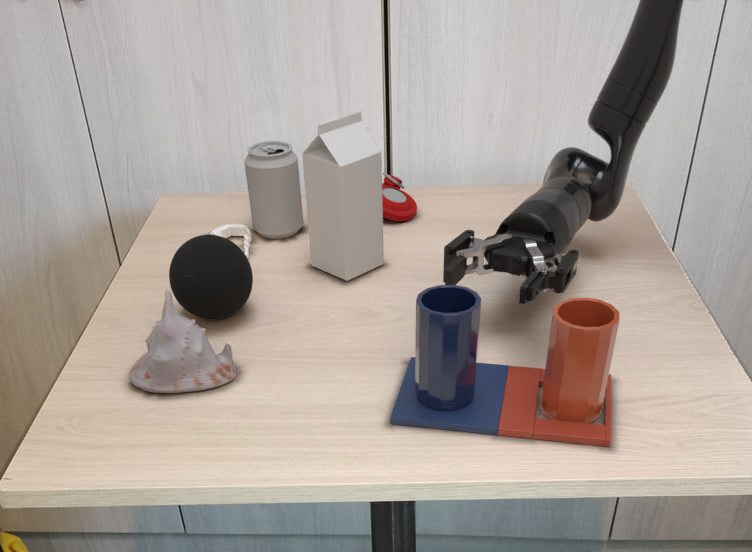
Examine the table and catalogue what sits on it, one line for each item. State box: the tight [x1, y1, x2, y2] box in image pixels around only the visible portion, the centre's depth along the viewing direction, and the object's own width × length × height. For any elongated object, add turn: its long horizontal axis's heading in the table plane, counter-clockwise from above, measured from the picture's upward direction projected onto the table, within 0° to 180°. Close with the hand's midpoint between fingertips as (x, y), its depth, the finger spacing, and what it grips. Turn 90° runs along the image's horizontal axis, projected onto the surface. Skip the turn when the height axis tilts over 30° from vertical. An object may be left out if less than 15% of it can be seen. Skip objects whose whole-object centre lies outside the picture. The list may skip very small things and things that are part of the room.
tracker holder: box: [382, 171, 418, 222], centre depth 124 cm, size 12×4×10 cm
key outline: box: [210, 223, 253, 260], centre depth 116 cm, size 13×5×2 cm, turn 23°
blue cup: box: [414, 284, 482, 411], centre depth 82 cm, size 6×6×11 cm
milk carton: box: [301, 110, 385, 282], centre depth 105 cm, size 7×7×19 cm
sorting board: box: [389, 356, 612, 447], centre depth 86 cm, size 22×12×1 cm, turn 77°
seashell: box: [128, 289, 238, 394], centre depth 89 cm, size 10×12×9 cm
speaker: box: [168, 234, 254, 321], centre depth 98 cm, size 10×10×10 cm
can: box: [244, 140, 304, 240], centre depth 117 cm, size 8×8×12 cm
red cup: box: [539, 297, 621, 424], centre depth 81 cm, size 6×6×11 cm
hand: (484, 287), depth 86 cm, fingers open, 8 cm apart
